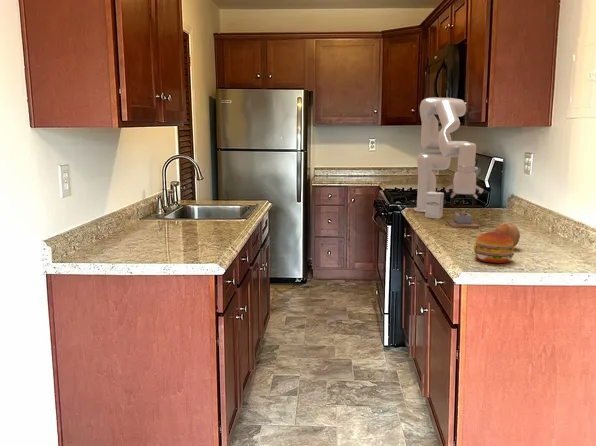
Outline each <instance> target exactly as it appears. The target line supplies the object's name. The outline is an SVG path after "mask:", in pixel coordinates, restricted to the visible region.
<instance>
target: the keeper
mask: <svg viewBox="0 0 596 446" xmlns="http://www.w3.org/2000/svg"><path fill="white" fill-rule="evenodd" d="M460 213H461V215H465V213H467V212H466V210H461V211H460ZM446 222H447V223H448V224H449V226H450V227H451V228H453V229H454V228H455V229H457V228H460V229H480V226H479V225H478V223H476V222H475V221H474V220H473V219H471V224H456V222H455V221H454V219H451V218H450V219H446Z"/></svg>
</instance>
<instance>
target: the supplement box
mask: <svg viewBox="0 0 596 446" xmlns="http://www.w3.org/2000/svg"><path fill="white" fill-rule="evenodd" d="M444 197H445V193H444V192H440V191H436V192H428V193H426V209H425V212H424V218H425V219H426V218H428V219H436V220H438V219H439V220H440V219H441V218H443V209H444Z"/></svg>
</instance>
